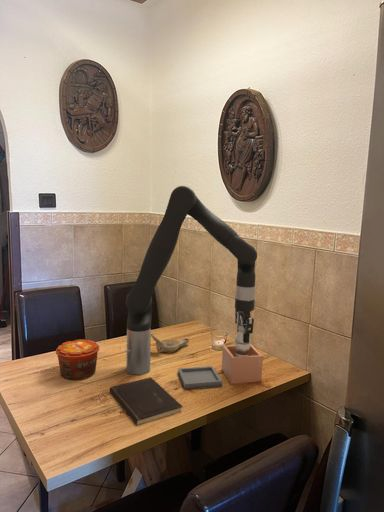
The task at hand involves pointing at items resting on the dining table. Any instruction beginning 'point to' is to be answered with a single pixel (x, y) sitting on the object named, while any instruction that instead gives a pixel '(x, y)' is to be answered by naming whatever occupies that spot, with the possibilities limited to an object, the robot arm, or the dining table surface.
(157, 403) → the hardcover book
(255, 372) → the pink open box
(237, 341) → the plastic bottle
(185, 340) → the oil lamp
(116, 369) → the dining table surface
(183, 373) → the tray
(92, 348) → the food container
